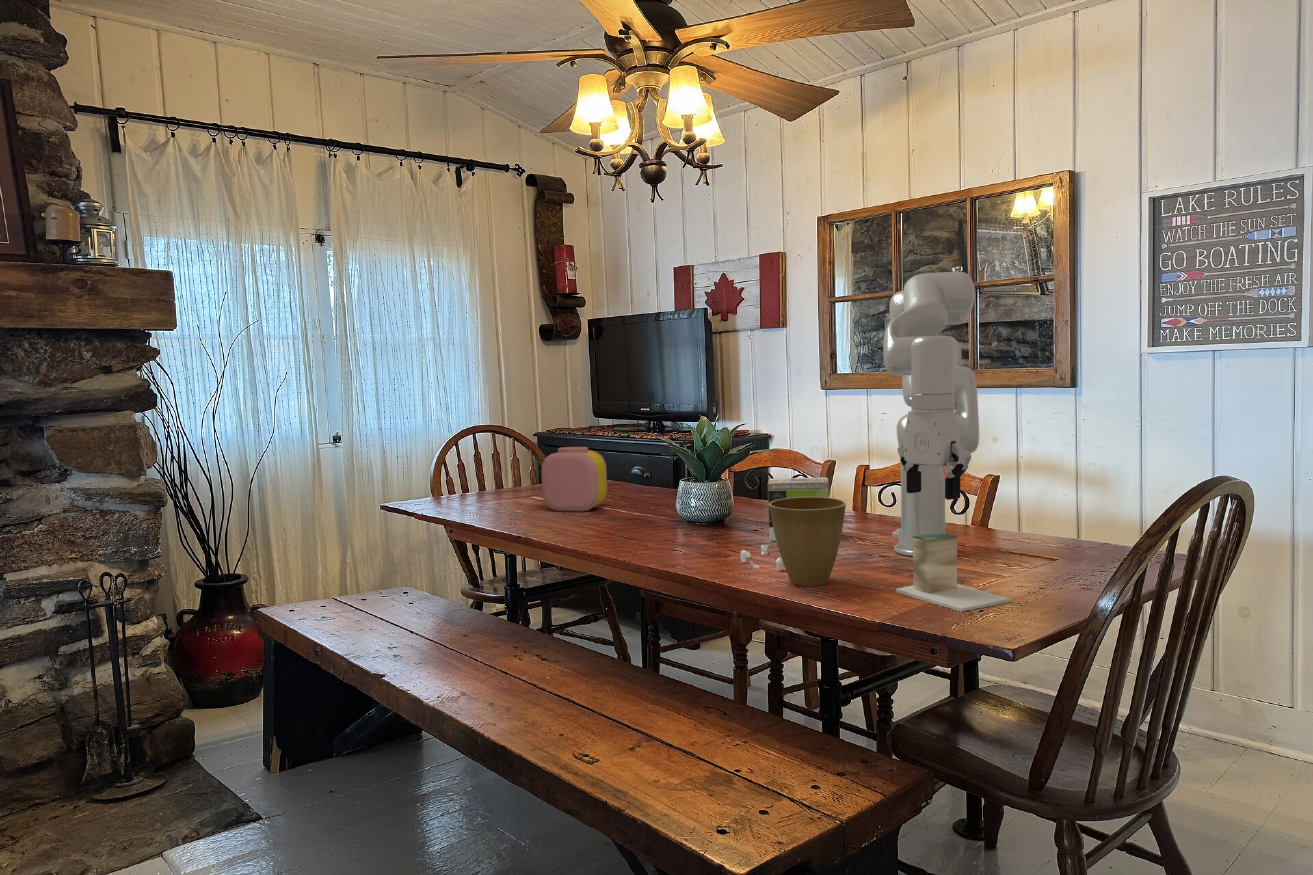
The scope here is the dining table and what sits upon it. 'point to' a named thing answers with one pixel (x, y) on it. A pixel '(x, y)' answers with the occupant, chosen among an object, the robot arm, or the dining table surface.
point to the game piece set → (764, 551)
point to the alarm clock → (574, 479)
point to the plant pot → (808, 536)
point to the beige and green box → (935, 562)
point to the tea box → (794, 492)
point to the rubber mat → (957, 597)
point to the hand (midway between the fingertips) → (932, 495)
